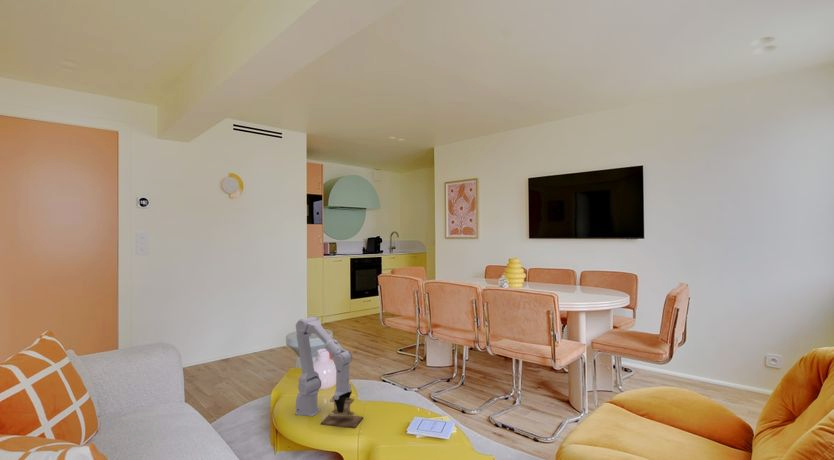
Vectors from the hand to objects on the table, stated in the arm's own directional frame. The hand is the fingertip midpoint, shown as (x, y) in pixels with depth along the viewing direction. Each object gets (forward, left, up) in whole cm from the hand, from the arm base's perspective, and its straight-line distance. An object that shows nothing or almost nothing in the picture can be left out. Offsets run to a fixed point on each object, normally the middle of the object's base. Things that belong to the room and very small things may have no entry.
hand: (342, 410), depth 177 cm
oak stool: (0, 0, -2) cm, 2 cm away
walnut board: (0, 0, -5) cm, 5 cm away
